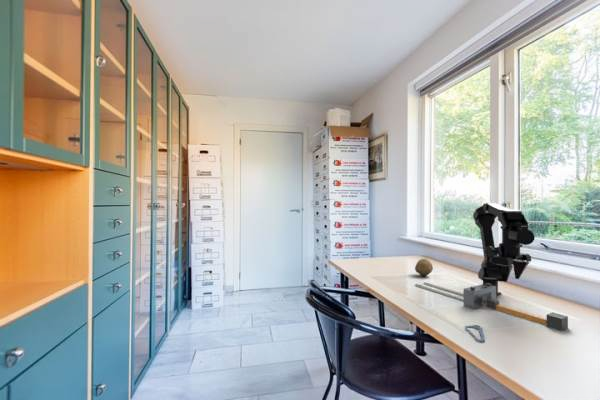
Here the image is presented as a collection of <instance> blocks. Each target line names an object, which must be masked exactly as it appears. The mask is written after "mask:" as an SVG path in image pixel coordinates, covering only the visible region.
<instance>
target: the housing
mask: <svg viewBox="0 0 600 400" xmlns="http://www.w3.org/2000/svg"><path fill="white" fill-rule="evenodd" d="M424 285H426V286H424ZM414 286H415V287H418V288H420V289H424V290H426V291H430V292H433V293H437V294H440V295H443V296H446V297H448V298H452V299H455V300H458V301H462V302H463V307H466V308H469V309H472V310H476V309H480V308H483V302H484V303H486V304H487V299H490V298H492V299H495V300H497V295H496V286H494V285H491V283H486V284H483V283H482V284H478V285H474V286H471V285H470V287H469V286H468V287H465V288H463V292H460V291H455V290H453V289H449V288H445V287H443V286H439V285H435V284H432V283H428V282H426V281H425V282H423V285H421V284H418V283H415V284H414ZM428 286H430V287H428ZM433 288H434V289H433ZM435 288H436V289H435ZM437 289H439V290H437ZM440 290H443V291H440ZM444 291H445V292H444ZM446 292H449V293H446ZM450 293H452V294H450ZM453 294H456V295H459V296H460V297H459V296H456V295H453ZM461 296H462V297H463V298H462V297H461Z"/></svg>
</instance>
